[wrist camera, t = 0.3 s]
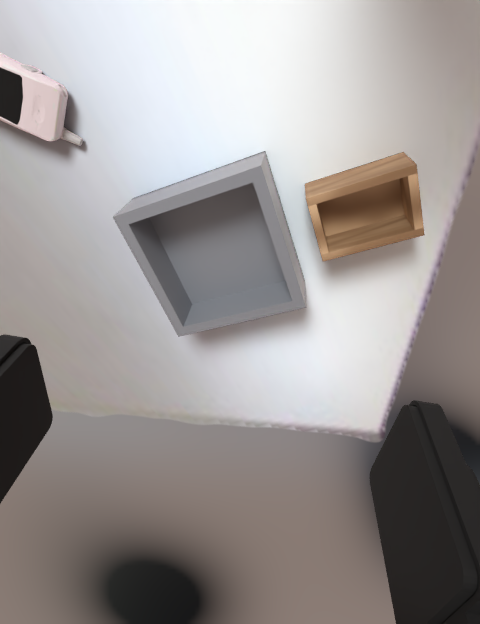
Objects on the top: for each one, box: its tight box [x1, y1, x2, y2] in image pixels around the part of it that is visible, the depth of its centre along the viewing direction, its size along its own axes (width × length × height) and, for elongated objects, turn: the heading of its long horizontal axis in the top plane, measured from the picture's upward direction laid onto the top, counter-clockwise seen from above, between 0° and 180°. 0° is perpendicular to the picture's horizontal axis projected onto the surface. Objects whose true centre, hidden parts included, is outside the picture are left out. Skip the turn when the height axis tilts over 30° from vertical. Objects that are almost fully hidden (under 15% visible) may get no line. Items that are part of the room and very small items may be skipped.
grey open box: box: [113, 151, 306, 337], centre depth 43 cm, size 16×16×6 cm
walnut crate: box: [305, 152, 424, 261], centre depth 39 cm, size 7×10×5 cm
